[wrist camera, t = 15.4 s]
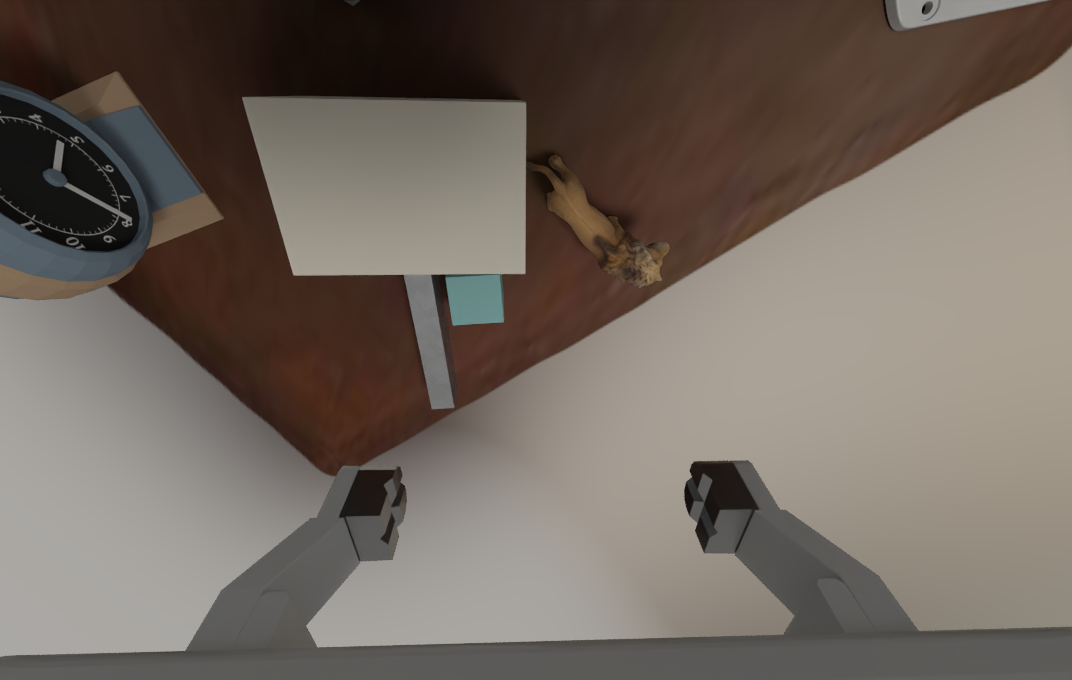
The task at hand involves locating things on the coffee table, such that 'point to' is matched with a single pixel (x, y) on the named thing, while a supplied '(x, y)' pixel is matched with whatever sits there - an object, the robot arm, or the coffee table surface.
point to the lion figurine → (601, 230)
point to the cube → (475, 298)
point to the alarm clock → (86, 189)
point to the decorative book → (352, 1)
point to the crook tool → (433, 338)
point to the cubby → (395, 183)
